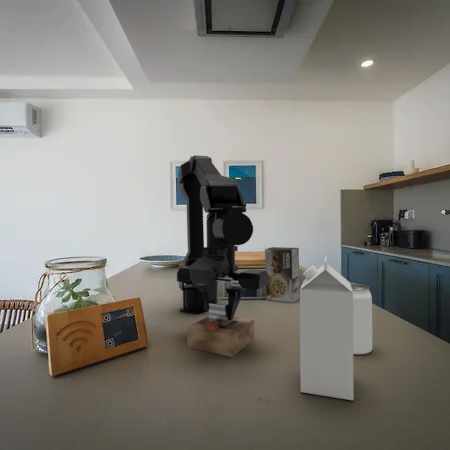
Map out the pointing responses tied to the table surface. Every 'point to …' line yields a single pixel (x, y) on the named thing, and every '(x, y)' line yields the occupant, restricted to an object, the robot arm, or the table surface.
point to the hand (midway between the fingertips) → (221, 318)
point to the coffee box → (282, 274)
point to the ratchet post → (220, 313)
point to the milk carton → (326, 333)
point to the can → (362, 319)
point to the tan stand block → (220, 336)
